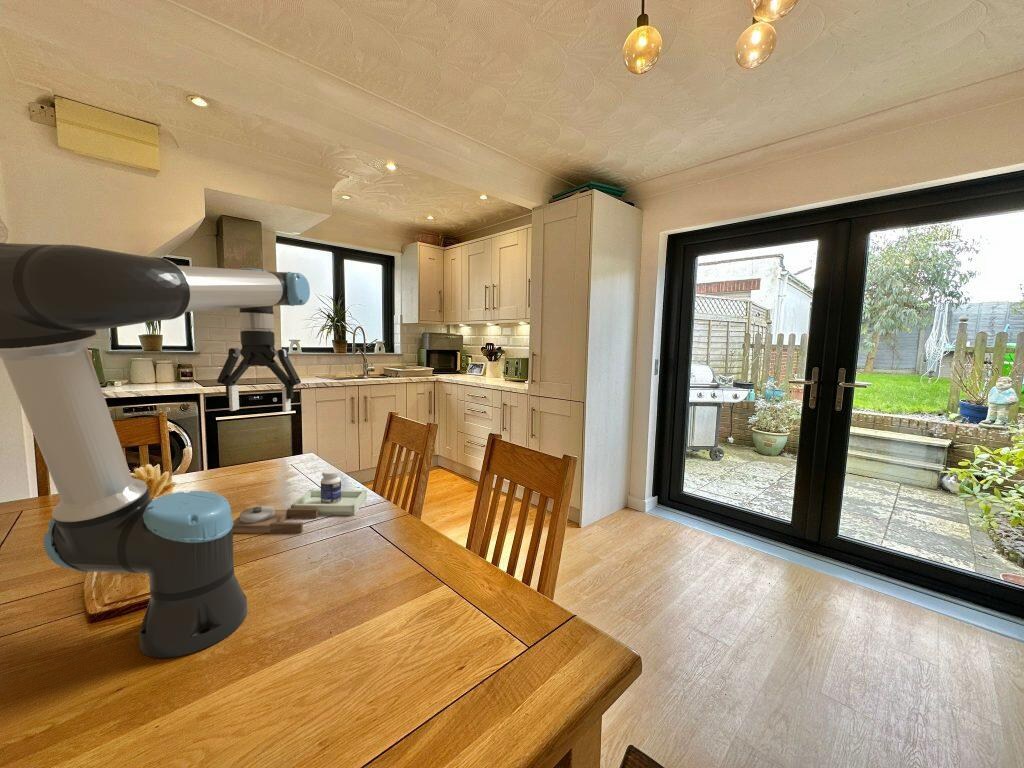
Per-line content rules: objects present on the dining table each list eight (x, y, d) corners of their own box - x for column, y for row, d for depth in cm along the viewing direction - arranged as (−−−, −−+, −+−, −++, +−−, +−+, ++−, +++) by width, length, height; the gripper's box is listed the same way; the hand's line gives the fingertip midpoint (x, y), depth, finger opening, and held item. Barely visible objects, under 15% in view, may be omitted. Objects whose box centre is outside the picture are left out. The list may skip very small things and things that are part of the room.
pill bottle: (336, 506, 122) (335, 474, 121) (317, 506, 122) (316, 473, 121) (344, 499, 127) (344, 468, 126) (326, 498, 127) (325, 467, 126)
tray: (354, 515, 119) (353, 505, 118) (291, 515, 118) (290, 505, 118) (366, 499, 131) (366, 490, 130) (309, 498, 130) (309, 489, 129)
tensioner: (301, 533, 107) (300, 516, 107) (227, 532, 106) (226, 515, 106) (317, 516, 117) (317, 501, 117) (250, 516, 116) (249, 500, 116)
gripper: (312, 331, 110) (314, 409, 113) (218, 329, 109) (221, 407, 111) (299, 331, 103) (301, 413, 105) (197, 328, 102) (202, 412, 104)
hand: (260, 410), depth 108 cm, fingers open, 13 cm apart
